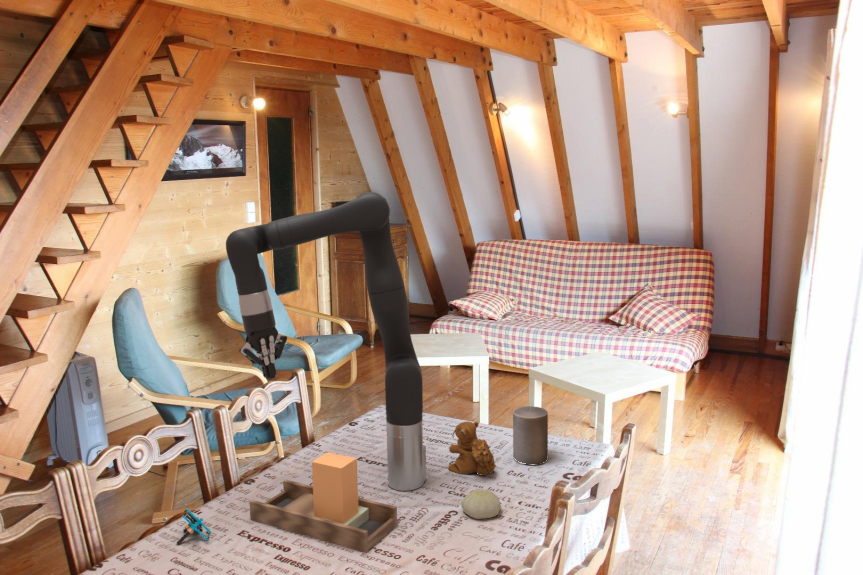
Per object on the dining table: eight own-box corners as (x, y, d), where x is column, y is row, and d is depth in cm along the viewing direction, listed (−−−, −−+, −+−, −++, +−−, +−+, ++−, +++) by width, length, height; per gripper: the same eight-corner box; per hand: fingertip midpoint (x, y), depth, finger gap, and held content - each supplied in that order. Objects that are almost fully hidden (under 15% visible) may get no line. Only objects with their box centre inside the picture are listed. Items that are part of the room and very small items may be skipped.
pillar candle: (553, 456, 196) (553, 404, 194) (539, 468, 188) (539, 415, 186) (521, 449, 202) (521, 399, 199) (506, 461, 194) (506, 409, 191)
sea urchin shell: (505, 496, 169) (500, 484, 162) (500, 529, 164) (494, 518, 158) (469, 491, 172) (462, 479, 165) (462, 523, 167) (455, 512, 161)
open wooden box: (250, 519, 163) (249, 501, 162) (286, 496, 174) (285, 479, 173) (365, 552, 148) (365, 532, 147) (397, 525, 159) (396, 506, 159)
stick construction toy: (217, 534, 152) (192, 509, 151) (192, 559, 150) (166, 534, 148) (209, 525, 163) (185, 502, 162) (185, 549, 160) (161, 525, 159)
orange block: (314, 516, 158) (311, 461, 156) (330, 504, 163) (327, 452, 161) (343, 523, 154) (341, 468, 152) (358, 512, 159) (356, 458, 157)
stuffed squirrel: (468, 457, 196) (468, 412, 194) (506, 473, 186) (506, 425, 184) (442, 468, 190) (442, 422, 188) (480, 484, 180) (480, 435, 177)
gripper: (241, 317, 163) (256, 388, 165) (288, 304, 172) (301, 371, 174) (224, 316, 168) (239, 385, 170) (271, 303, 177) (284, 369, 180)
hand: (270, 378), depth 172 cm, fingers closed
